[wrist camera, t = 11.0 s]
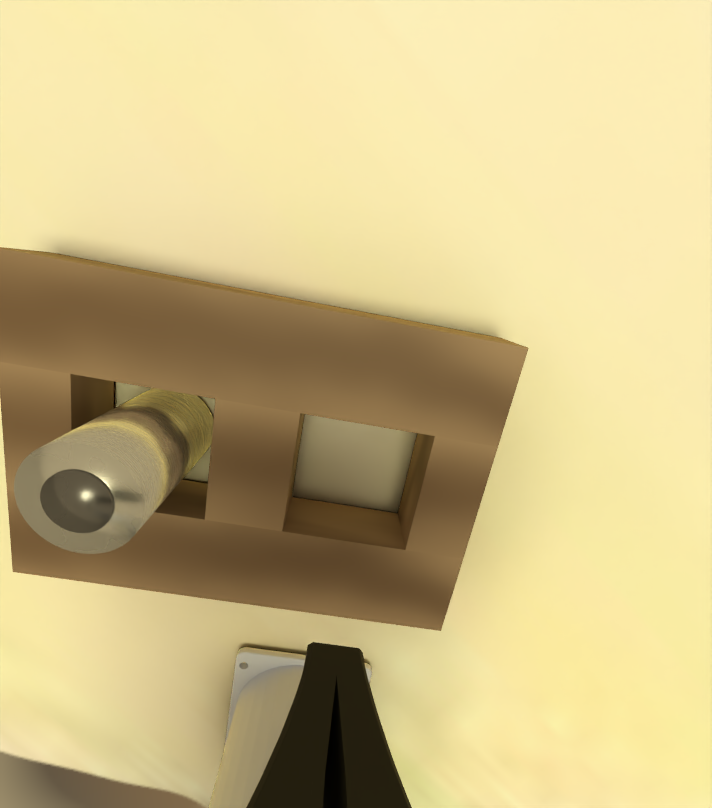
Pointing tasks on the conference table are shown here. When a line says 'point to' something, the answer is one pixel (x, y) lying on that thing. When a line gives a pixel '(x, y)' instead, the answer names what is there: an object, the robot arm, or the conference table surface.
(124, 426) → the battery
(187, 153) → the conference table surface
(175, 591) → the jig plate
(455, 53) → the conference table surface
